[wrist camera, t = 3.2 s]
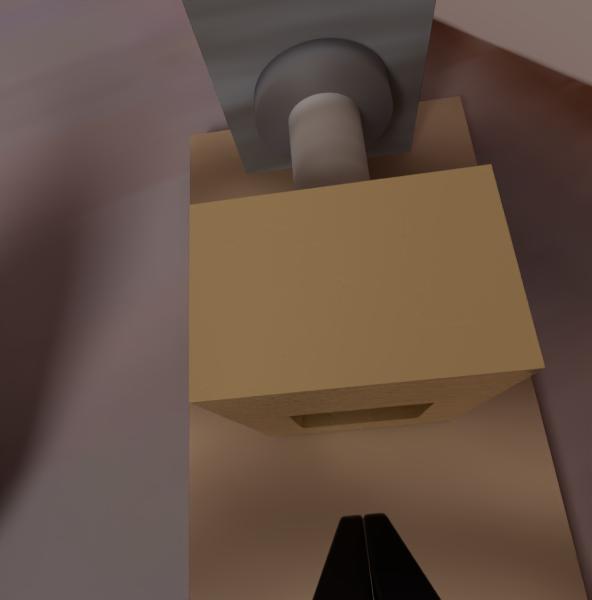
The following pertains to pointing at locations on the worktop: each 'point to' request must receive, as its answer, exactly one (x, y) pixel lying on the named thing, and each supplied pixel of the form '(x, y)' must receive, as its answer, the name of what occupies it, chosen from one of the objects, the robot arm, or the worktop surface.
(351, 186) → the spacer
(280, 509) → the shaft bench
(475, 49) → the worktop surface
